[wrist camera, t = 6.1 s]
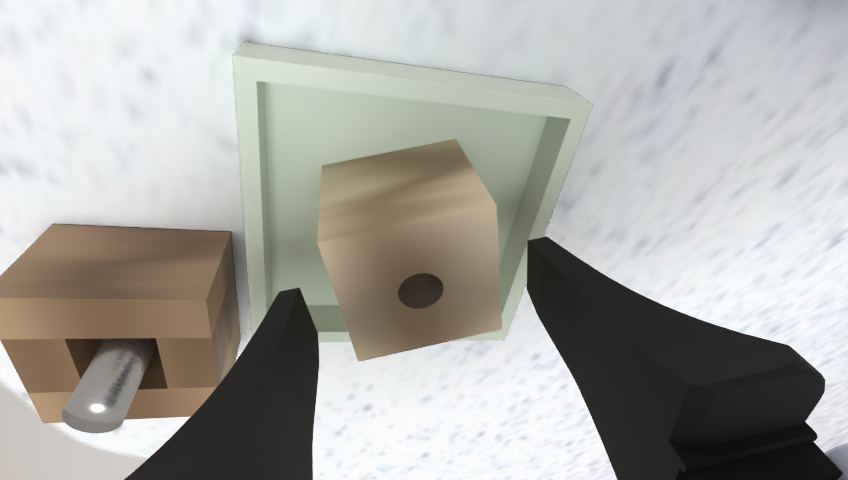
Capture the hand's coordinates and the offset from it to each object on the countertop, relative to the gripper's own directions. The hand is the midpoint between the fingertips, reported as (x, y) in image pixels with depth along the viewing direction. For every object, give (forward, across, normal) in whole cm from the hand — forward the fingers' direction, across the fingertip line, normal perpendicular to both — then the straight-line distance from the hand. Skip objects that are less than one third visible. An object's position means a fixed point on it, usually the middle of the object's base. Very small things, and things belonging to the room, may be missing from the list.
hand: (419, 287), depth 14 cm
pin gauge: (+5, +10, +2) cm, 12 cm away
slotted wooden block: (+5, +10, +2) cm, 12 cm away
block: (+5, 0, 0) cm, 5 cm away
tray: (+5, 0, 0) cm, 5 cm away
